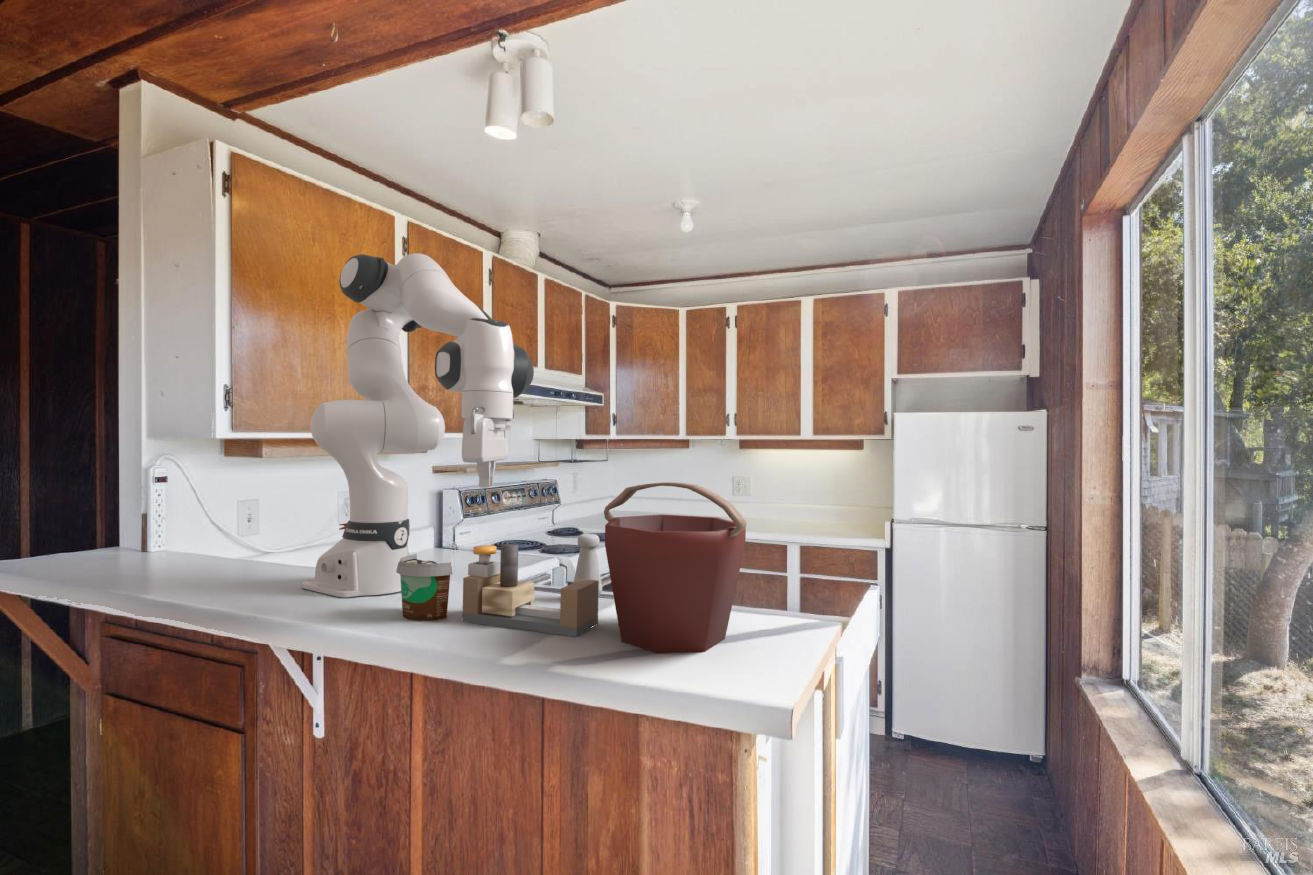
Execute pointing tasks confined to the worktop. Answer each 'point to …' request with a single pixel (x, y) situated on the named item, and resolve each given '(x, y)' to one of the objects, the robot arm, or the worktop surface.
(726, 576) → the bucket
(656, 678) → the worktop surface
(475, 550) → the knob
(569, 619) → the rail board
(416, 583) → the food container
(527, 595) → the carriage
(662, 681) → the worktop surface
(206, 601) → the worktop surface
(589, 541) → the salt shaker
